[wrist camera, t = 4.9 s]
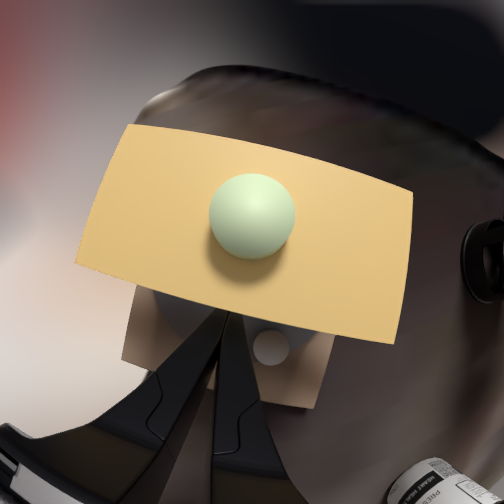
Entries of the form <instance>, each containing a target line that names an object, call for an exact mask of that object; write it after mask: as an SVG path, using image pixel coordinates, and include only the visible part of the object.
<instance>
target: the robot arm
mask: <svg viewBox="0 0 504 504" xmlns="http://www.w3.org/2000/svg"><path fill="white" fill-rule="evenodd" d="M216 363H217V364H216ZM215 366H216V371H215V379H214V387H213V396H212V405H211V414H210V423H209V432H208V442H207V452H206V462H205V472H204V483H203V494H202V504H309V503H308V502H307V501H306V500H305V499H304V497H303V496H302V495H301V494H300V492H299V491H298V490H297V489H296V487H295V486H294V485H293V483H292V482H291V480H290V478H289V477H288V475H287V473H286V470H285V468H284V466H283V464H282V461H281V459H280V456H279V454H278V451H277V449H276V446H275V444H274V441H273V439H272V436H271V433H270V430H269V428H268V425H267V421H266V418H265V414H264V410H263V406H262V401H261V399H260V393H259V388H258V384H257V379H256V375H255V370H254V365H253V361H252V356H251V351H250V346H249V342H248V337H247V332H246V327H245V322H244V317H243V314H240V313H236V312H232V311H228V310H224V309H220V308H217V307H216V308H215V309H214V310H213V311H212V312H211V313H210V314H209V315H208V316H207V317H206V318H205V319H204V320H203V321H202V322H201V323H200V324H199V325H198V326H197V327H196V328H195V329H194V330H193V331H192V333H191V334H190V335H189V336H188V337H187V338H186V339H185V340H184V341H183V342H182V343H181V344H180V345H179V346H178V347H177V348H176V349H175V350H174V351H173V352H172V353H171V354H170V355H169V356H168V357H167V358H166V359H165V360H164V361H163V362H162V363H161V364H160V365H159V366H158V367H157V368H156V371H153V372H152V373H151V374H150V375H149V376H148V378H146V379H145V380H144V381H143V382H142V383H141V384H140V385H139V386H138V387H137V388H136V389H135V390H133V391H132V392H131V393H130V394H129V395H127V396H126V397H125V398H124V399H122V400H121V401H120V402H119V403H117V404H116V405H114V406H113V407H112V408H110V409H109V410H107V411H106V412H105V413H103V414H102V415H101V416H99V417H98V418H96V419H95V420H93V421H92V422H90V423H88V424H85V425H83V426H80V427H77V428H74V429H70V430H67V431H64V432H60V433H57V434H53V435H50V436H46V437H43V438H37V439H35V438H32V437H30V436H29V435H27V434H25V433H24V432H22V431H21V430H19V429H18V428H16V427H14V426H13V425H11V424H9V423H4V424H2V425H0V504H158V502H159V499H160V497H161V495H162V492H163V490H164V488H165V485H166V483H167V481H168V478H169V476H170V474H171V471H172V469H173V467H174V464H175V462H176V460H177V457H178V455H179V453H180V450H181V448H182V445H183V443H184V441H185V438H186V436H187V434H188V431H189V429H190V426H191V424H192V422H193V419H194V417H195V415H196V412H197V410H198V407H199V405H200V403H201V400H202V398H203V395H204V393H205V391H206V388H207V386H208V383H209V381H210V379H211V376H212V374H213V371H214V369H215ZM494 504H504V500H502V501H500V502H497V503H494Z"/></svg>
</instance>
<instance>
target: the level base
mask: <svg viewBox="0 0 504 504" xmlns="http://www.w3.org/2000/svg"><path fill="white" fill-rule="evenodd" d="M215 308H216V307H213V306H209V305H205V304H202V303H198V302H194V301H191V300H187V299H184V298H180V297H177V296H173V295H170V294H167V293H163V292H160V291H157V290H153V289H150V288H147V287H144V286H141V285H137V287H136V290H135V295H134V299H133V304H132V308H131V312H130V317H129V322H128V326H127V332H126V337H125V342H124V347H123V353H122V359H121V360H123V361H126V362H129V363H131V364H134V365H137V366H139V367H142V368H144V369H147V370H150V371H156V368H157V367H158V366H159V365H160V364H161V363H162V362H163V361H164V360H165V359H166V358H167V357H168V356H169V355H170V354H171V353H172V352H173V351H174V350H175V349H176V348H177V347H178V346H179V345H180V344H181V343H182V342H183V341H184V340H185V339H186V338H187V337H188V336H189V335H190V334H191V333H192V331H193V330H194V329H195V328H196V327H197V326H198V325H199V324H200V323H201V322H202V321H203V320H204V319H205V318H206V317H207V316H208V315H209V314H210V313H211V312H212V311H213V310H214V309H215ZM243 317H244V322H245V327H246V332H247V337H248V342H249V346H250V351H251V356H252V361H253V365H254V370H255V375H256V379H257V384H258V388H259V393H260V399H261V401H266V402H271V403H277V404H283V405H289V406H296V407H303V408H310V409H313V408H314V405H315V402H316V399H317V396H318V393H319V390H320V387H321V383H322V380H323V377H324V373H325V370H326V366H327V363H328V359H329V356H330V352H331V348H332V345H333V341H334V337H335V334H331V333H325V332H320V331H315V330H310V329H306V328H301V327H296V326H291V325H287V324H282V323H278V322H273V321H269V320H265V319H261V318H256V317H252V316H248V315H244V314H243ZM216 364H217V363H216ZM215 371H216V366H215V369H214V371H213V374H212V376H211V379H210V381H209V383H208V386H207V388H208V389H212V390H213V387H214V379H215Z"/></svg>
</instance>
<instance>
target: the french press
mask: <svg viewBox="0 0 504 504" xmlns="http://www.w3.org/2000/svg"><path fill="white" fill-rule="evenodd" d="M492 244H497V246H498V249H499V252H500V256H501V264H502V267H501V276H500V280H499V282H498V285H497V286H496V288H495V289H494V290H493V291H492V290H491V288H490V286H489V283H488V281H487V278H486V274H485V269H484V263H483V247H485V246H489V245H492ZM461 269H462V275H463V279H464V282H465V285H466V287H467V289H468V291H469V293H470V295H471V296H472V297H473V298H474V299H475V300H476V301H478V302H479V303H482V304H489V303H492V302H500V301H504V217H503V219H501V218H495V219H492V220H489V221H487V222H479V223H475V224H474V225H472V226H471V227H470V228H469V229H468V230H467V232H466V234H465V236H464V239H463V242H462V248H461Z"/></svg>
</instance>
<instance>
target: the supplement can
mask: <svg viewBox="0 0 504 504" xmlns="http://www.w3.org/2000/svg"><path fill="white" fill-rule="evenodd" d="M500 501H502V500H501V499H500V498H498V497H496V496H495V495H493V494H492V493H490V492H489V491H487V490H486V489H484V488H483V487H481V486H480V485H478V484H477V483H475V482H474V481H472V480H471V479H469V478H468V477H466V476H465V475H464V474H462V473H461V472H459V471H458V470H456V469H455V468H454V467H452V466H451V465H449V464H448V463H447V462H445V461H444V460H442V459H440V458H436V457H435V458H430V459H426V460H424V461H421V462H419V463H417V464H415V465H413V466H412V467H410V468H409V469H408V470H406V471H405V472H404V473H403V474H402V475H401V476H400V477H399V478H398V479H397V480H396V482H395V483H394V485H393V486H392V488H391V490H390V492H389V495H388V498H387V502H388V504H494V503H497V502H500Z"/></svg>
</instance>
